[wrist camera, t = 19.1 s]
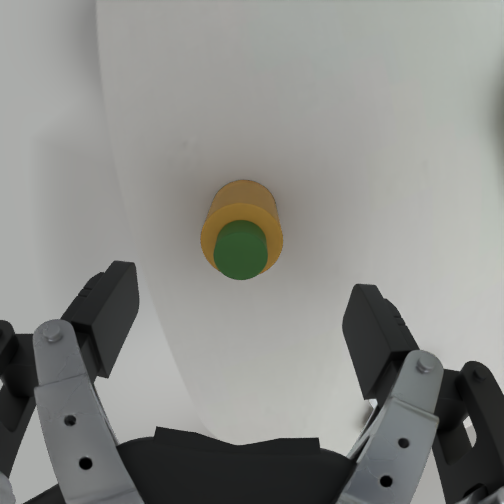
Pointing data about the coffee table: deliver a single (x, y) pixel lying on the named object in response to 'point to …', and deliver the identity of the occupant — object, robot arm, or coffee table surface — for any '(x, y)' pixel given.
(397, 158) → the coffee table surface
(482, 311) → the coffee table surface
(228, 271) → the yellow and green cylinder
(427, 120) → the coffee table surface
